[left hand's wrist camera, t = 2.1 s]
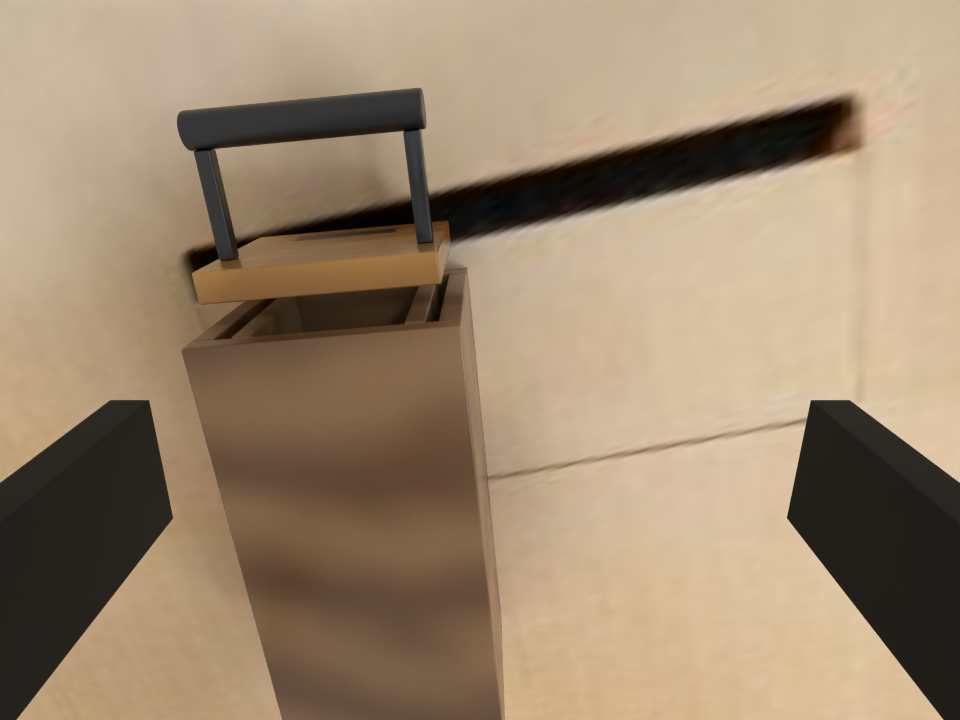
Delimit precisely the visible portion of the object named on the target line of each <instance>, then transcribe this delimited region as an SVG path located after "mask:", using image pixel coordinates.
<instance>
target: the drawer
mask: <svg viewBox="0 0 960 720" xmlns="http://www.w3.org/2000/svg"><path fill="white" fill-rule="evenodd" d="M177 127H178V132H179V135H180V138H181V140H182V142H183V144H184V146H185V147H186V148H187V149H188V150H191V151H194V155H195V159H196V163H197V167H198V172H199V176H200V180H201V184H202V189H203V193H204V197H205V201H206V205H207V210H208V214H209V218H210V222H211V226H212V231H213V235H214V239H215V243H216V247H217V252H218V256H219V259H218V260H216V261H214V262H212V263H210V264H209V265H207V266H205V267H203V268H201V269H199V270H197V271H195V272H193V273H192V277H193V281H194V285H195V289H196V293H197V297H198V300H199V304H201V305H204V304H215V303H227V302H238V301H250V300H262V299H273V298H277V299H276V300H275V301H273V302H272V303H271V304H270V305H269V306H268V307H266V308H265V309H264V310H263V311H262V312H261V313H259V314H258V315H257V316H256V317H255V318H254V319H252V320H251V321H250V322H249V323H248V324H247V325H245V326H244V327H243V328H242V329H241V330H240V331H238V332H237V333H236V334H235V335H234V336H233V337H232V339H234V338H245V337H257V336H269V335H281V334H293V333H305V332H317V331H329V330H341V329H353V328H364V327H376V326H388V325H400V324H412V323H424V322H436V321H439V318H440V313H441V304H440V295H439V287H438V284H441V281H442V277H443V273H444V269H445V266H446V262H447V258H448V254H449V250H450V246H451V242H450V233H449V223H448V221H439V222H432V220H431V212H430V203H429V194H428V185H427V177H426V168H425V159H424V150H423V142H422V133H421V130H420V129H425V128H426V112H425V103H424V97H423V92H422V89H421V88H413V89H403V90H392V91H382V92H372V93H361V94H351V95H341V96H331V97H320V98H310V99H300V100H289V101H279V102H269V103H258V104H248V105H238V106H228V107H217V108H207V109H197V110H186V111H181V112H180V113H179V114H178V117H177ZM398 131H404V132H403V134H404V142H405V151H406V159H407V167H408V175H409V183H410V191H411V199H412V207H413V215H414V223H415V224H405V225H394V226H383V227H372V228H361V229H350V230H338V231H327V232H316V233H305V234H294V235H283V236H272V237H261V238H259V239H257V240H255V241H253V242H251V243H249V244H247V245H245V246H243V247H241V248H239V249H238V248H237V244H236V240H235V235H234V231H233V226H232V222H231V217H230V213H229V209H228V204H227V200H226V195H225V191H224V186H223V182H222V178H221V173H220V169H219V164H218V160H217V155H216V151H215V149H218V148H229V147H239V146H250V145H260V144H271V143H282V142H292V141H303V140H313V139H324V138H334V137H345V136H355V135H366V134H377V133H387V132H398Z"/></svg>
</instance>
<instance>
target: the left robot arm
mask: <svg viewBox="0 0 960 720" xmlns="http://www.w3.org/2000/svg"><path fill="white" fill-rule="evenodd" d="M172 519H173V516H172V511H171V506H170V501H169V496H168V491H167V486H166V481H165V476H164V471H163V467H162V462H161V457H160V452H159V447H158V442H157V437H156V432H155V427H154V422H153V417H152V413H151V408H150V403H149V400H110V401H109V402H107V403H106V404H105V405H103V406H102V407H101V408H99V409H98V410H97V411H95V412H94V413H93V414H91V415H90V416H89V417H87V418H86V419H85V420H83V421H82V422H81V423H79V424H78V425H77V426H75V427H74V428H73V429H72V430H70V431H69V432H68V433H66V434H65V435H64V436H62V437H61V438H60V439H58V440H57V441H56V442H54V443H53V444H52V445H50V446H49V447H48V448H46V449H45V450H44V451H42V452H41V453H40V454H38V455H37V456H36V457H34V458H33V459H32V460H30V461H29V462H28V463H26V464H25V465H24V466H22V467H21V468H20V469H18V470H17V471H16V472H14V473H13V474H12V475H10V476H9V477H8V478H6V479H5V480H4V481H2V482H1V483H0V720H17V718H18V717H19V716H20V714H21V713H22V712H23V711H24V709H25V708H26V707H27V705H28V704H29V703H30V702H31V700H32V699H33V698H34V696H35V695H36V694H37V692H38V691H39V690H40V689H41V687H42V686H43V685H44V683H45V682H46V681H47V680H48V678H49V677H50V676H51V674H52V673H53V672H54V671H55V669H56V668H57V667H58V665H59V664H60V663H61V662H62V660H63V659H64V658H65V656H66V655H67V654H68V653H69V651H70V650H71V649H72V647H73V646H74V645H75V644H76V642H77V641H78V640H79V638H80V637H81V636H82V635H83V633H84V632H85V631H86V629H87V628H88V627H89V626H90V624H91V623H92V622H93V620H94V619H95V618H96V617H97V615H98V614H99V613H100V611H101V610H102V609H103V608H104V606H105V605H106V604H107V602H108V601H109V600H110V599H111V597H112V596H113V595H114V593H115V592H116V591H117V590H118V588H119V587H120V586H121V584H122V583H123V582H124V580H125V579H126V578H127V577H128V575H129V574H130V573H131V571H132V570H133V569H134V568H135V566H136V565H137V564H138V562H139V561H140V560H141V559H142V557H143V556H144V555H145V553H146V552H147V551H148V550H149V548H150V547H151V546H152V544H153V543H154V542H155V541H156V539H157V538H158V537H159V535H160V534H161V533H162V532H163V530H164V529H165V528H166V526H167V525H168V524H169V523H170V521H171V520H172ZM787 519H788V520H789V521H790V523H791V524H792V525H793V526H794V528H795V529H796V530H797V532H798V533H799V534H800V535H801V537H802V538H803V539H804V541H805V542H806V543H807V544H808V546H809V547H810V548H811V550H812V551H813V552H814V553H815V555H816V556H817V557H818V559H819V560H820V561H821V562H822V564H823V565H824V566H825V568H826V569H827V570H828V571H829V573H830V574H831V575H832V577H833V578H834V579H835V580H836V582H837V583H838V584H839V586H840V587H841V588H842V590H843V591H844V592H845V593H846V595H847V596H848V597H849V599H850V600H851V601H852V602H853V604H854V605H855V606H856V608H857V609H858V610H859V611H860V613H861V614H862V615H863V617H864V618H865V619H866V620H867V622H868V623H869V624H870V626H871V627H872V628H873V629H874V631H875V632H876V633H877V635H878V636H879V637H880V638H881V640H882V641H883V642H884V644H885V645H886V646H887V647H888V649H889V650H890V651H891V653H892V654H893V655H894V656H895V658H896V659H897V660H898V662H899V663H900V664H901V665H902V667H903V668H904V669H905V671H906V672H907V673H908V674H909V676H910V677H911V678H912V680H913V681H914V682H915V683H916V685H917V686H918V687H919V689H920V690H921V691H922V692H923V694H924V695H925V696H926V698H927V699H928V700H929V702H930V703H931V704H932V705H933V707H934V708H935V709H936V711H937V712H938V713H939V714H940V716H941V717H942V718H943V720H960V483H959V482H958V481H956V480H955V479H954V478H952V477H951V476H950V475H948V474H947V473H946V472H944V471H943V470H942V469H940V468H939V467H938V466H936V465H935V464H934V463H932V462H931V461H930V460H928V459H927V458H926V457H924V456H923V455H922V454H920V453H919V452H918V451H916V450H915V449H914V448H912V447H911V446H910V445H908V444H907V443H906V442H904V441H903V440H902V439H900V438H899V437H898V436H896V435H895V434H894V433H892V432H891V431H890V430H888V429H887V428H886V427H884V426H883V425H882V424H881V423H879V422H878V421H877V420H875V419H874V418H873V417H871V416H870V415H869V414H867V413H866V412H865V411H863V410H862V409H861V408H859V407H858V406H857V405H855V404H854V403H853V402H851V401H850V400H811V403H810V408H809V413H808V417H807V422H806V427H805V432H804V437H803V442H802V447H801V452H800V457H799V462H798V467H797V471H796V476H795V481H794V486H793V491H792V496H791V501H790V506H789V511H788V516H787Z"/></svg>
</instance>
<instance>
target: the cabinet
mask: <svg viewBox="0 0 960 720" xmlns="http://www.w3.org/2000/svg"><path fill="white" fill-rule="evenodd" d="M438 287H439V295H440V304H441V313H440V318H439V321H436V322H424V323H412V324H400V325H388V326H376V327H364V328H353V329H341V330H329V331H317V332H305V333H293V334H281V335H269V336H257V337H245V338H234V339H232V337H233V336H234V335H235V334H236V333H237V332H238V331H240V330H241V329H242V328H243V327H244V326H245V325H247V324H248V323H249V322H250V321H251V320H252V319H254V318H255V317H256V316H257V315H258V314H259V313H261V312H262V311H263V310H264V309H265V308H266V307H268V306H269V305H270V304H271V303H272V302H273V301H275V300H276V299H277V298H273V299H262V300H250V301H245V302H244V303H242V304H241V305H240V306H238V307H237V308H236V309H234V310H233V311H232V312H230V313H229V314H228V315H226V316H225V317H224V318H223V319H221V320H220V321H219V322H217V323H216V324H215V325H213V326H212V327H211V328H209V329H208V330H207V331H205V332H204V333H203V334H201V335H200V336H199V337H197V338H196V339H195V340H193V341H192V342H191V343H190V344H188V345H187V346H186V347H184V348H183V349H182V354H183V358H184V361H185V365H186V369H187V372H188V376H189V380H190V383H191V387H192V391H193V394H194V398H195V402H196V405H197V409H198V413H199V416H200V420H201V424H202V427H203V431H204V435H205V438H206V442H207V446H208V449H209V453H210V457H211V460H212V464H213V468H214V471H215V475H216V479H217V482H218V486H219V490H220V493H221V497H222V501H223V504H224V508H225V512H226V515H227V519H228V523H229V526H230V530H231V534H232V537H233V541H234V545H235V548H236V552H237V556H238V559H239V563H240V567H241V570H242V574H243V578H244V581H245V585H246V589H247V592H248V596H249V600H250V603H251V607H252V611H253V614H254V618H255V622H256V625H257V629H258V632H259V636H260V640H261V643H262V647H263V651H264V654H265V658H266V662H267V665H268V669H269V673H270V676H271V680H272V684H273V687H274V691H275V695H276V698H277V702H278V706H279V709H280V713H281V717H282V720H505V710H504V683H503V657H502V630H501V628H502V624H501V611H500V601H499V590H498V580H497V570H496V559H495V549H494V539H493V529H492V518H491V508H490V498H489V487H488V477H487V467H486V457H485V446H484V436H483V426H482V415H481V405H480V395H479V385H478V374H477V364H476V354H475V343H474V333H473V323H472V312H471V302H470V292H469V282H468V271H467V268H465V269H459V270H447V271H444V273H443V277H442V281H441V284H438Z"/></svg>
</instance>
